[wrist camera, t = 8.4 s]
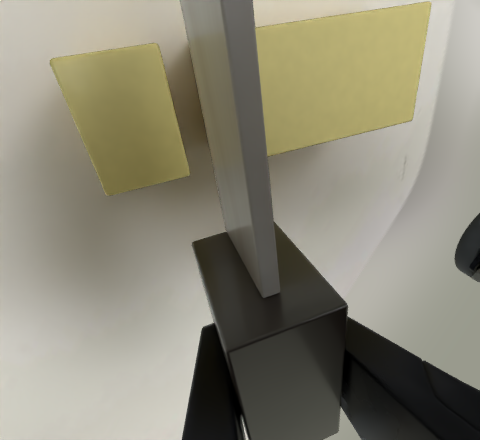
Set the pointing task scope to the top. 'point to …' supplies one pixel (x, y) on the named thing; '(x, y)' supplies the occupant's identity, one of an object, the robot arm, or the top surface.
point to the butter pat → (124, 115)
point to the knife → (259, 249)
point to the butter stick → (340, 74)
